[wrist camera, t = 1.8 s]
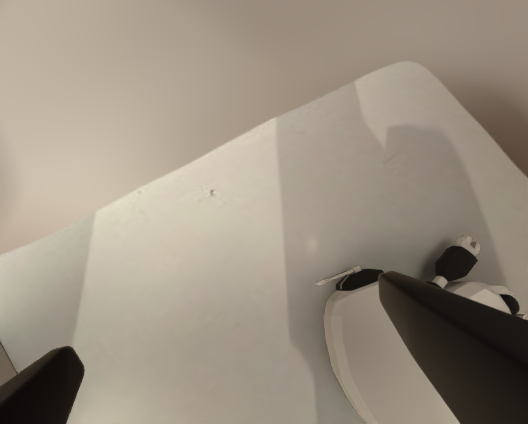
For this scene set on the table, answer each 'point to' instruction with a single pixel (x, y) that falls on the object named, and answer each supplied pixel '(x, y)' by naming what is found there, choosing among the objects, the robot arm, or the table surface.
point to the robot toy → (394, 341)
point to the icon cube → (5, 367)
